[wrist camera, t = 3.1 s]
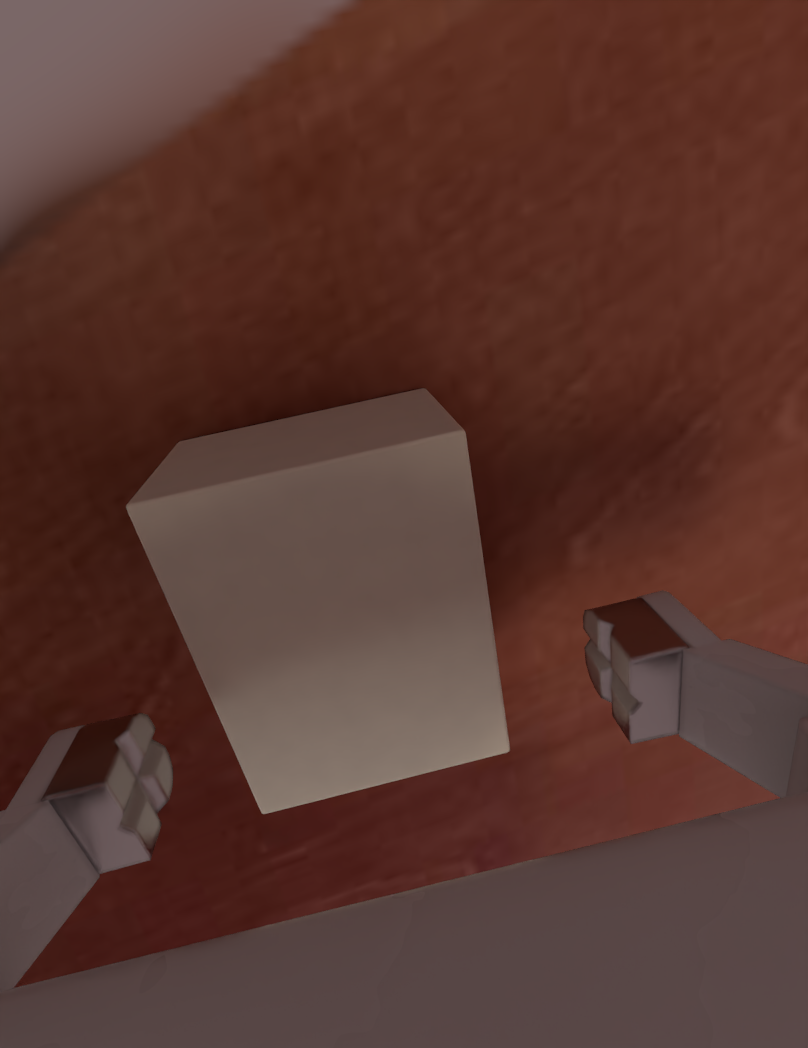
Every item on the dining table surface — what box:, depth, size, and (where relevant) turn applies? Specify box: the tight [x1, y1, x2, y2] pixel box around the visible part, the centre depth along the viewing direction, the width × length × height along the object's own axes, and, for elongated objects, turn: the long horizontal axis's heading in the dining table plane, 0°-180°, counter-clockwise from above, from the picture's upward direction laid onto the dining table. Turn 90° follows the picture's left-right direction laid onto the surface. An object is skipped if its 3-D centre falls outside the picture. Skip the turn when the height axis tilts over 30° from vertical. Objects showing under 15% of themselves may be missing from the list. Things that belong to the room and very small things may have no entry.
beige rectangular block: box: [126, 388, 510, 814], centre depth 13 cm, size 6×8×4 cm
